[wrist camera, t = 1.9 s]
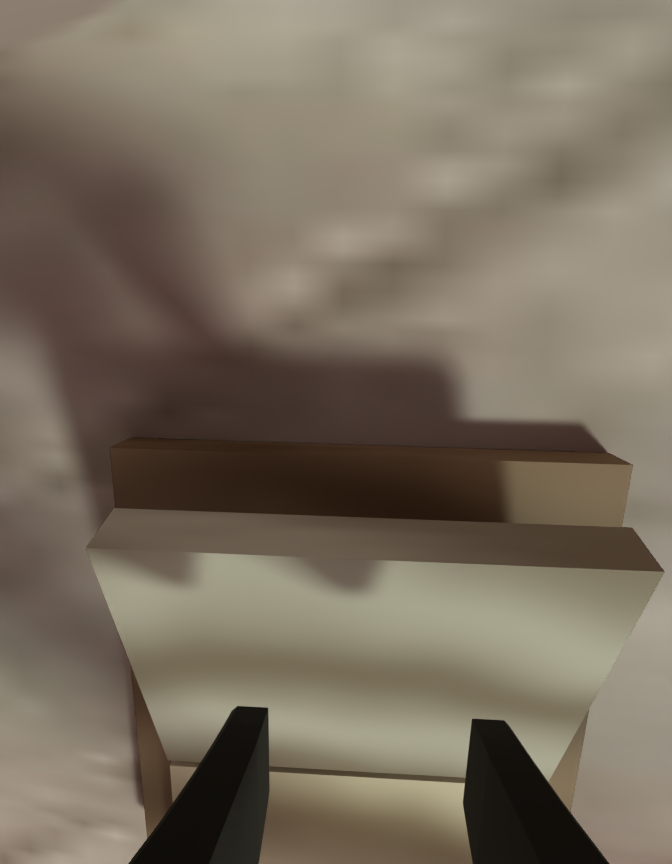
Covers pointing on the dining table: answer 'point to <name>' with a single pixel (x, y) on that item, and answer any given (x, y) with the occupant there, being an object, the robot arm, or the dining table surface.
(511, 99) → the dining table surface
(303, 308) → the dining table surface
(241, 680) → the angled plank
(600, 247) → the dining table surface
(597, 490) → the floor board
